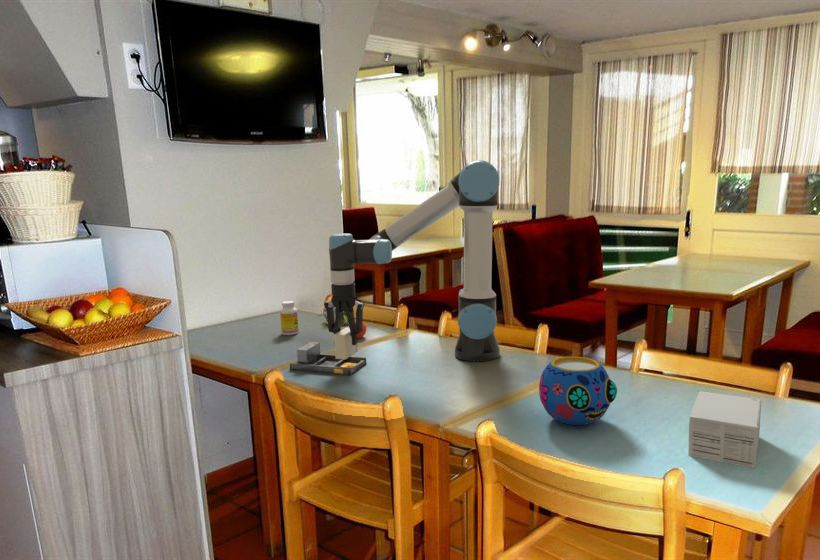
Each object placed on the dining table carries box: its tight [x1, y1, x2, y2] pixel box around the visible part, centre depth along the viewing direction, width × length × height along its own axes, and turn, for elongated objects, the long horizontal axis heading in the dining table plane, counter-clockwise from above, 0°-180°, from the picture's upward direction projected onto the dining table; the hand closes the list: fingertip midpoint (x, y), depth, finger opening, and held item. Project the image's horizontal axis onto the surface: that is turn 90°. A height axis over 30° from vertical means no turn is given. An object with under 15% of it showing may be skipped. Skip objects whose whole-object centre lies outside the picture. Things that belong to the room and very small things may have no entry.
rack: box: [289, 341, 367, 376], centre depth 204 cm, size 22×12×7 cm, turn 70°
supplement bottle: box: [279, 300, 299, 336], centre depth 247 cm, size 7×7×13 cm
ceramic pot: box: [538, 356, 618, 426], centre depth 154 cm, size 18×18×15 cm
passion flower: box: [322, 305, 348, 325], centre depth 262 cm, size 11×11×12 cm
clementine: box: [355, 319, 367, 339], centre depth 238 cm, size 8×7×7 cm
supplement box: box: [687, 390, 762, 469], centre depth 138 cm, size 17×13×9 cm
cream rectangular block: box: [333, 326, 359, 360], centre depth 201 cm, size 4×9×8 cm, turn 159°
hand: (346, 353), depth 201 cm, fingers closed on cream rectangular block, 3 cm apart
